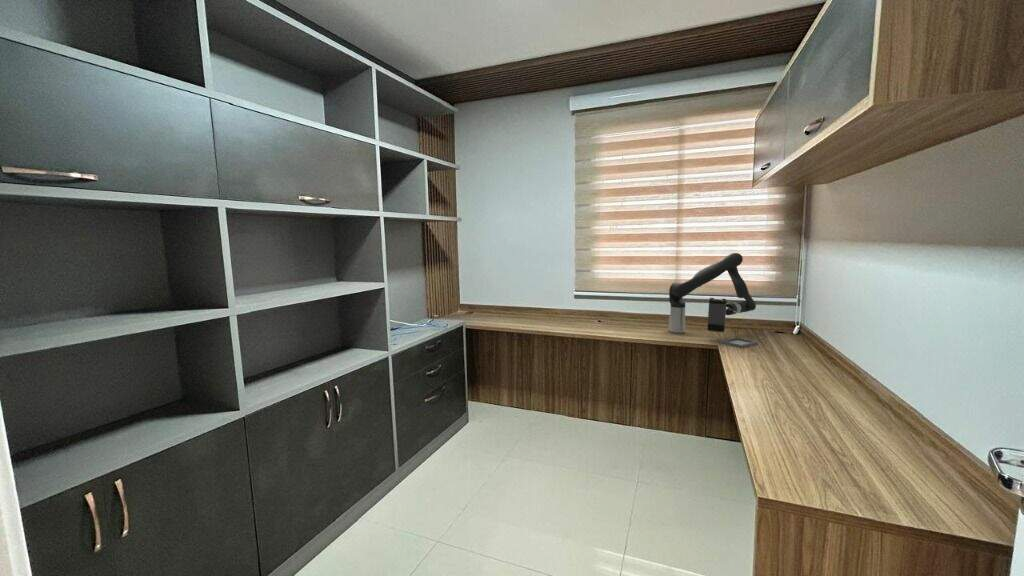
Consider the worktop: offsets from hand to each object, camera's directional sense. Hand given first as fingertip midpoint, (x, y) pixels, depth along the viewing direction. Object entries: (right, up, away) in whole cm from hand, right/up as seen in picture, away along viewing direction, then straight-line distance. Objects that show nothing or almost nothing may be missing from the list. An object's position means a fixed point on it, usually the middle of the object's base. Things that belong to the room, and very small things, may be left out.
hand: (715, 311), depth 243 cm
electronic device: (+1, -12, +1) cm, 12 cm away
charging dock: (+9, -19, -9) cm, 23 cm away
